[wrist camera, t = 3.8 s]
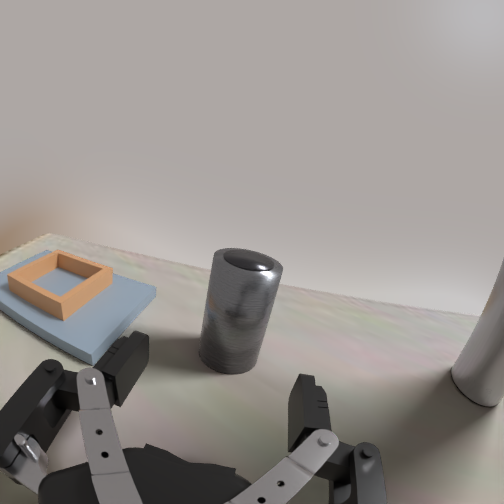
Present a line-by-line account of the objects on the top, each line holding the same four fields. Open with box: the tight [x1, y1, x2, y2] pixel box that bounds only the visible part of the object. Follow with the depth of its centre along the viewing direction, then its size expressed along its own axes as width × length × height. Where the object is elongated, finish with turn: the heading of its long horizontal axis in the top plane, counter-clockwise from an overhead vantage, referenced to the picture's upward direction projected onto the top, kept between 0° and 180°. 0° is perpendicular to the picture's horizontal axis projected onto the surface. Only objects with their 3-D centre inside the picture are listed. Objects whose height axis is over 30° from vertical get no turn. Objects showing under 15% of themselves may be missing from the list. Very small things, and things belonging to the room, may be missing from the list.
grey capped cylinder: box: [199, 248, 283, 374], centre depth 22 cm, size 5×5×9 cm
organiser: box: [0, 250, 156, 366], centre depth 23 cm, size 18×13×3 cm
